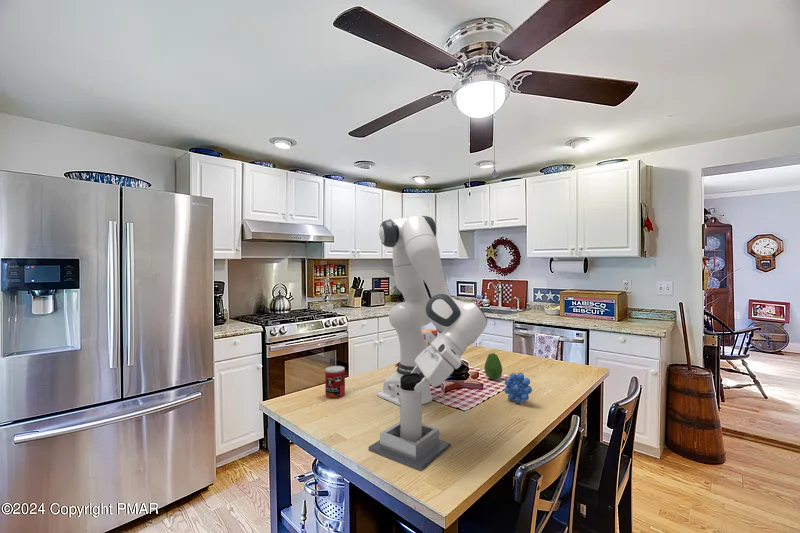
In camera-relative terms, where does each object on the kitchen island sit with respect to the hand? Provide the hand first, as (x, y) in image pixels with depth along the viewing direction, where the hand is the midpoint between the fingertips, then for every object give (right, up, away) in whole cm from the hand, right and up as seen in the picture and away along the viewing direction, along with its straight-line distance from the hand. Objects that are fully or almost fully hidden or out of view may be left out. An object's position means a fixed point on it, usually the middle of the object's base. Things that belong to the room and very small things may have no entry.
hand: (412, 385), depth 107 cm
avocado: (+39, -18, +63) cm, 76 cm away
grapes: (+42, -18, +34) cm, 57 cm away
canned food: (-30, -18, +43) cm, 55 cm away
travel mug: (0, -18, +1) cm, 18 cm away
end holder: (-1, -18, 0) cm, 18 cm away
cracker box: (+8, -18, +72) cm, 75 cm away
